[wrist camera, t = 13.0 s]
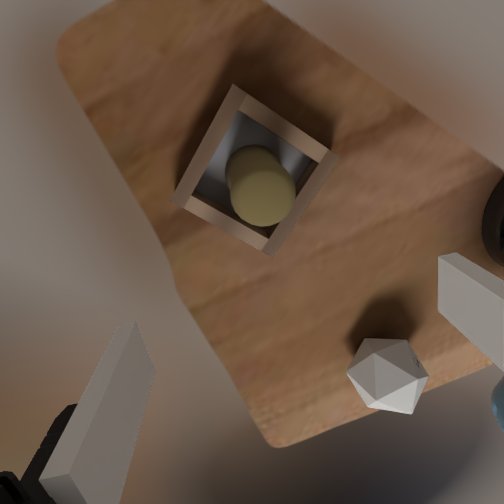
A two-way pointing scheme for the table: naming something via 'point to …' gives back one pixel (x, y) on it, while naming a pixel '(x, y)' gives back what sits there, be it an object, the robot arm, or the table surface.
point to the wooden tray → (234, 137)
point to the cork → (259, 185)
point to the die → (387, 374)
